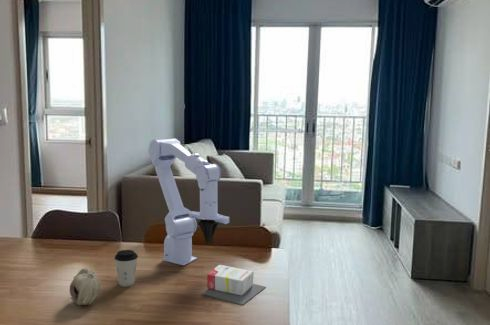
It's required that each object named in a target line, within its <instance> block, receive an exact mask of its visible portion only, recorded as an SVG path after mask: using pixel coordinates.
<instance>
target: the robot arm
mask: <svg viewBox="0 0 490 325" xmlns="http://www.w3.org/2000/svg"><path fill="white" fill-rule="evenodd" d="M147 151H148V154H149V157H150V161H151V162H152V165H153V166H154V169H155V172H156V176H157V178H158V182H159V184H160V187H161V190H162V191H161V192H162V194H163V196H164V199H165V203H166V205H167V210H168V211H169V212H168V213H167V214H166V216H165V218H164V222H165V231H166V234H167V235H166V236H165V238H164V242H163V258H162V261H163V262H166V263H167V262H168V263H171V264H176V265H180V266H186V265H187V264H190V263H191V262H193V261H195V260H197V259H198V258H197V257H195V256H193V254H192V252H193V250H192V248H193V242H192V239H193V238H192V237H193V236H194V233H195V232H196V230H197V228H198V226H199V228H200V230H201V231H202V232H201V233H202V234H203V238H204V243H207V244H210V243H213V239H214V236H215V233H216V230H217V228H218V225H219V224H220V223H221V224H223V225H227V224H230V216H226V215H223V214H219V212H218V208H219V206H218V186H219V185H218V181H220V180H221V178H222V169H221V167H220V166H219V165H218V164H217V163H210V162H209V161H208V160H205V159H204V158H203V157H201V155H200V154H199V153H190V152H189V151H188V150H187V149H186V148H184V147H183V145H182V144H181V141H180V140H178V139H177V138H175V137H174V138H167V139H166V138H165V139H164V138H163V139H152V140H151V141H150V143H149V146H148V150H147ZM177 159H178V160H180V161H182V162H183V163H184V167H185V168H186V169H187V170H188V171H190V172H191V173H192V174H194V175H195V178H196V180H197V185H198V188H199V211H193V210H192V211H191V210H190V209H189V208H187V207H184V203H183V201H182V198H181V195H180V192H179V189H178V186H177V183H176V179H175V177H174V174H173V171H172V168H171V165H172V164H173V163H175V161H176V160H177ZM197 220H199V221H198V222H197ZM197 223H198V224H197Z"/></svg>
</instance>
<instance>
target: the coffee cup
mask: <svg viewBox="0 0 490 325" xmlns="http://www.w3.org/2000/svg"><path fill="white" fill-rule="evenodd" d="M138 257H139V256H138V254H137V253H136V252H135V250H132V249H123V250H119V251H118V252H117V253H116V254H115V256H114V260H115V266H116V273H117V281H118V284H119V286H120V287H124V288H125V287H126V288H127V287H130V286H133V285H135V281H136V280H135V279H136V273H137V272H136V271H137V262H138Z"/></svg>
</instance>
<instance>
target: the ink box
mask: <svg viewBox="0 0 490 325" xmlns="http://www.w3.org/2000/svg"><path fill="white" fill-rule="evenodd" d="M253 284H254V271H253V270H250V269H249V270H248V269H244V268H238V267H233V266H228V265H223V264H218V265H217V266H215V268H213V269H212V270H211V271H209V272H208V273H207V275H206V287H207V289H213V290H218V291H222V292H227V293H232V294H236V295H241V296H242V295H243V294H244V293H245V292H246V291H247V290H248V289H249V288H251V287H252V286H253Z"/></svg>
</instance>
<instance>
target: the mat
mask: <svg viewBox="0 0 490 325" xmlns="http://www.w3.org/2000/svg"><path fill="white" fill-rule="evenodd" d="M265 289H266V286H265V285H259V284H257V283H256V284H255V283H253V286H252V287H251V288H249V289H248V290H247V291H246V292H245V293H244V294H243V295H242V296H241V295H236V294H232V293H227V292H222V291H218V290H213V289H208V288H207V289H206V290H204V291H203V292H202V293H201V295H204V296H208V297H212V298H214V299H220V300H222V301H226V302H230V303H233V304H237V305H241V306H244V305H245V304H246V303H248V302H249V301H251V300H252V299H253V298H254V297H256V296H257V295H258V294H260V293H261V292H262V291H264V290H265Z"/></svg>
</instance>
